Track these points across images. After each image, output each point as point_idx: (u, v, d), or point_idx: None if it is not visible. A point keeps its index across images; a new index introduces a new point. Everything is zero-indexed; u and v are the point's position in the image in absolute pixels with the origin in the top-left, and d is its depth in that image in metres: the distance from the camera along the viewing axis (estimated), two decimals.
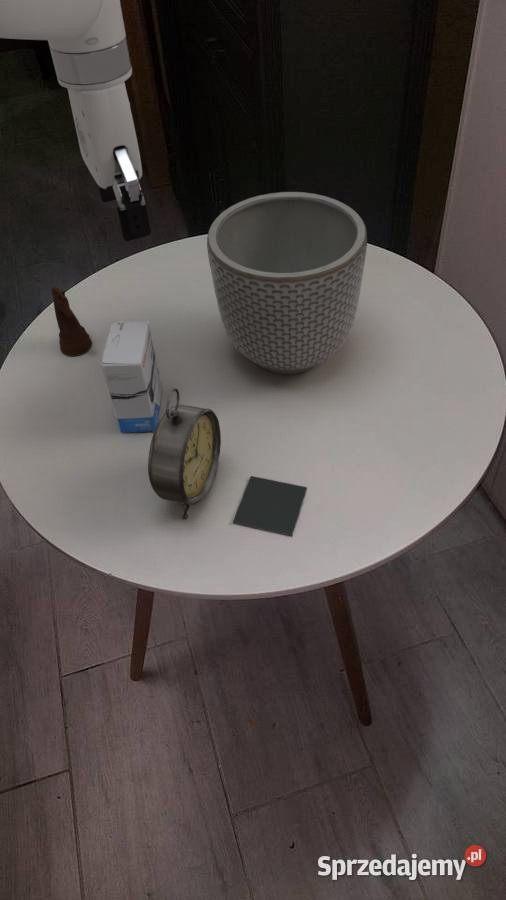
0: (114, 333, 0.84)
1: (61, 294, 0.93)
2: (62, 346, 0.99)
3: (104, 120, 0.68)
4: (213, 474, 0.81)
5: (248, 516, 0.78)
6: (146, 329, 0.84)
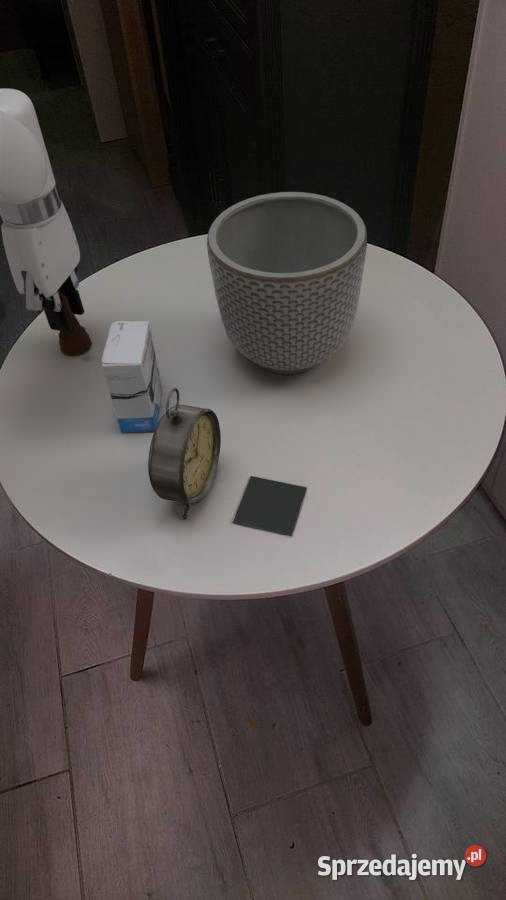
0: (114, 333, 0.84)
1: (61, 294, 0.93)
2: (62, 346, 0.99)
3: (12, 250, 0.84)
4: (213, 474, 0.81)
5: (248, 516, 0.78)
6: (146, 329, 0.84)
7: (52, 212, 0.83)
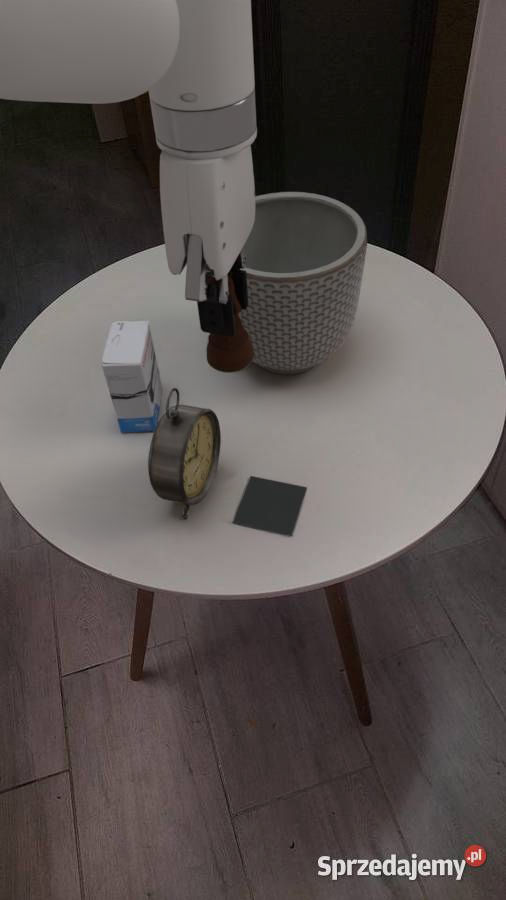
0: (114, 333, 0.84)
1: None
2: (214, 358, 0.65)
3: (176, 198, 0.50)
4: (213, 474, 0.81)
5: (248, 516, 0.78)
6: (146, 329, 0.84)
7: (248, 132, 0.49)
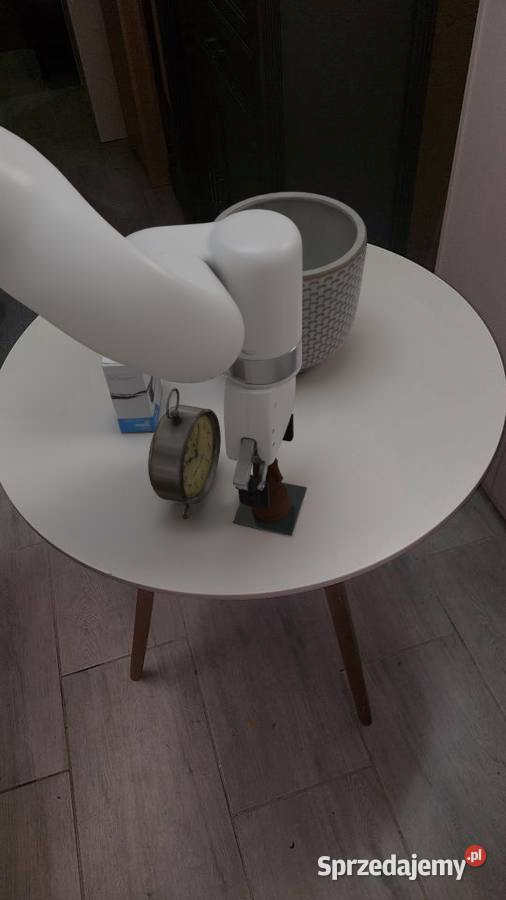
0: None
1: None
2: (258, 511, 0.77)
3: (238, 414, 0.62)
4: (213, 474, 0.81)
5: (248, 516, 0.78)
6: None
7: (296, 366, 0.61)
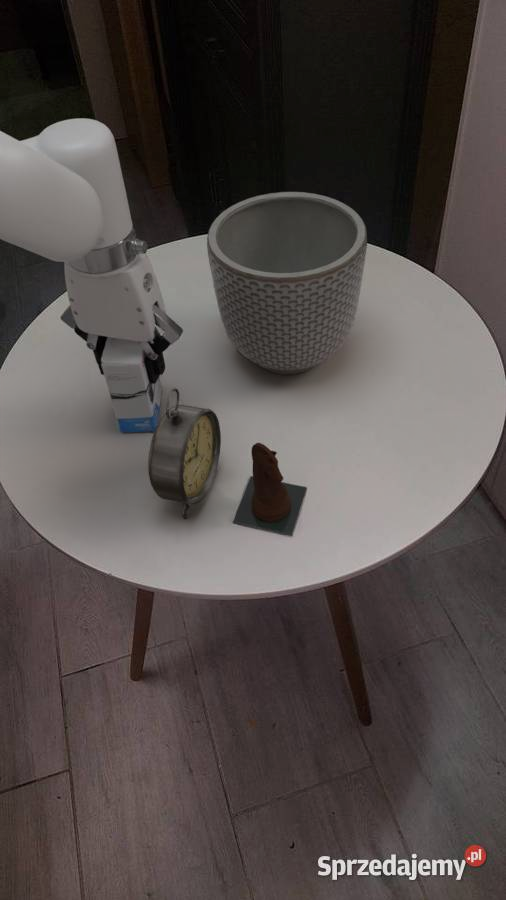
0: None
1: (272, 456, 0.72)
2: (258, 511, 0.77)
3: None
4: (213, 474, 0.81)
5: (248, 516, 0.78)
6: None
7: (79, 268, 0.71)
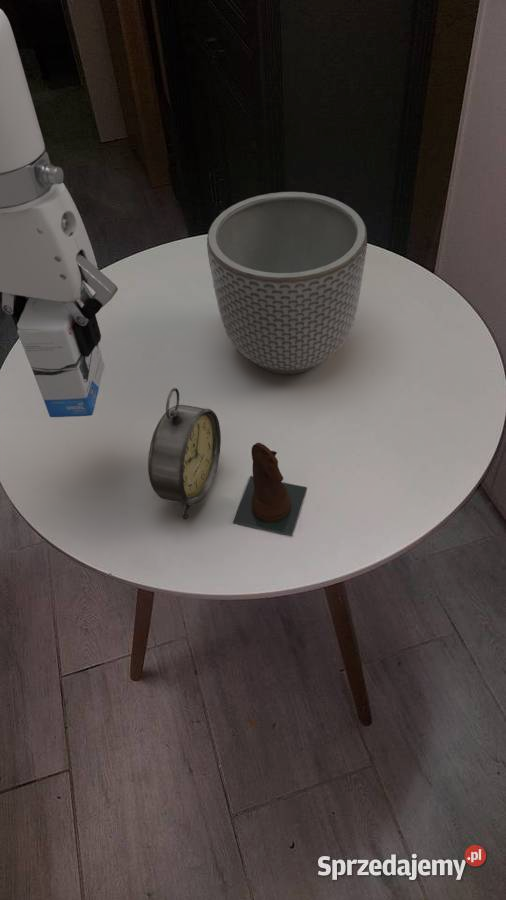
0: None
1: (272, 456, 0.72)
2: (258, 511, 0.77)
3: None
4: (213, 474, 0.81)
5: (248, 516, 0.78)
6: None
7: None
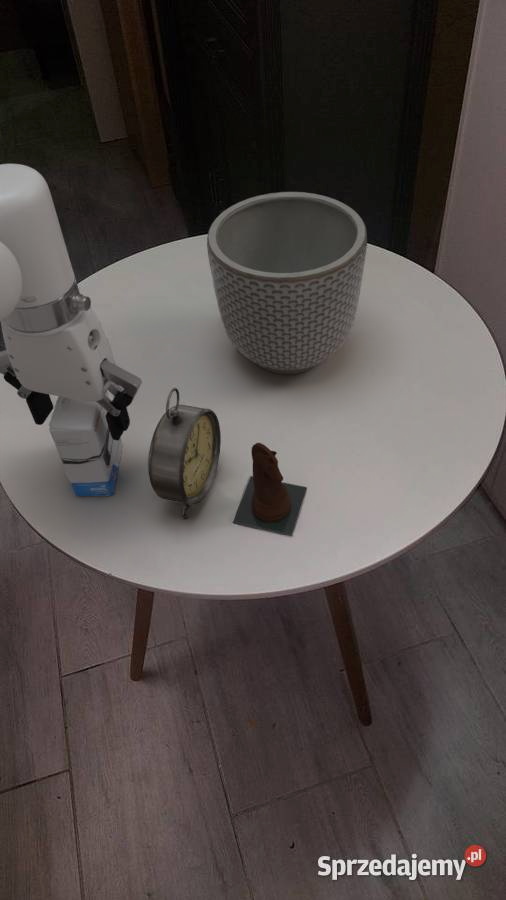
0: None
1: (272, 456, 0.72)
2: (258, 511, 0.77)
3: None
4: (213, 474, 0.81)
5: (248, 516, 0.78)
6: None
7: (14, 326, 0.64)
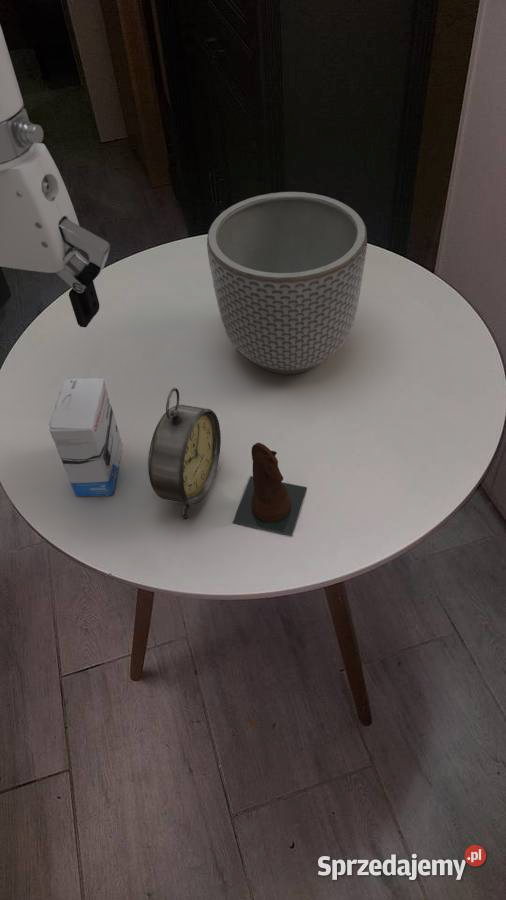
0: (65, 393, 0.77)
1: (272, 456, 0.72)
2: (258, 511, 0.77)
3: None
4: (213, 474, 0.81)
5: (248, 516, 0.78)
6: (100, 388, 0.78)
7: None
